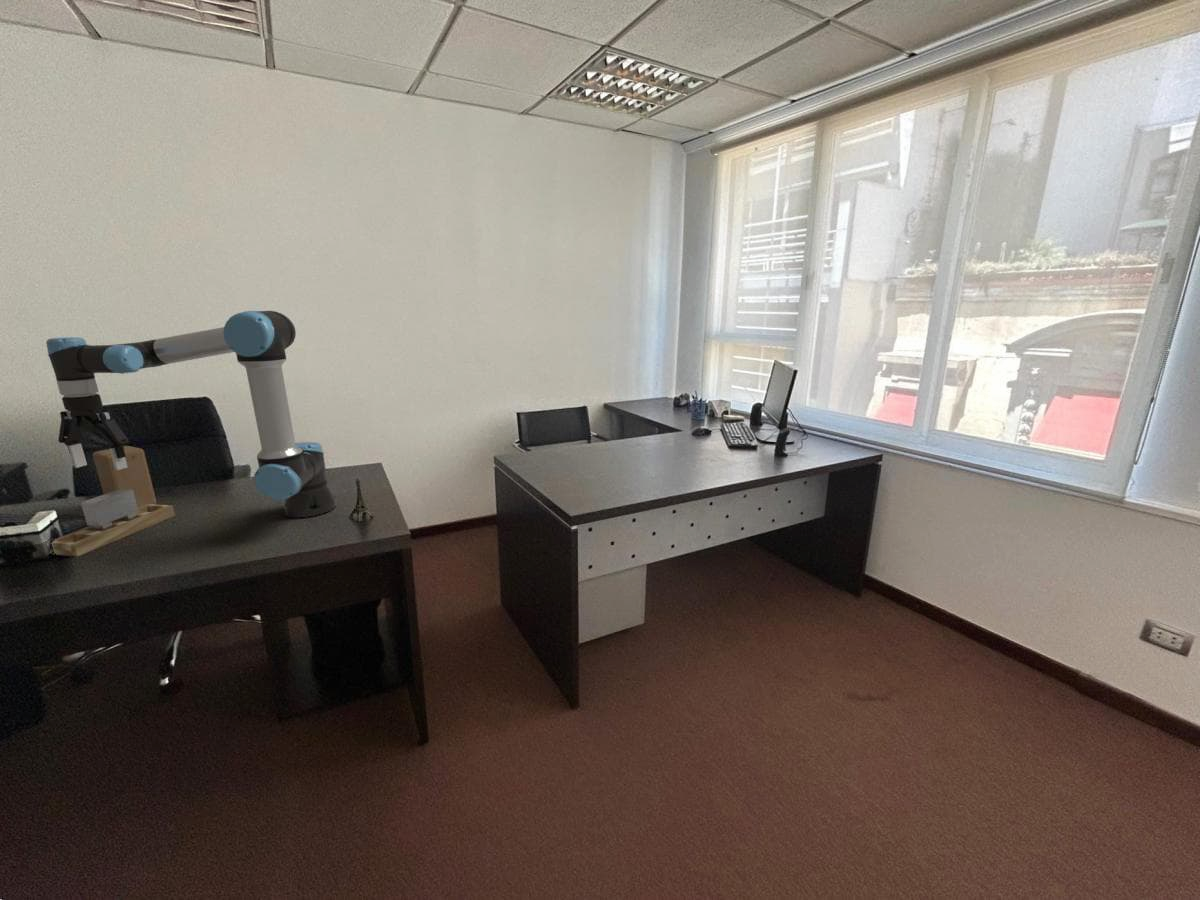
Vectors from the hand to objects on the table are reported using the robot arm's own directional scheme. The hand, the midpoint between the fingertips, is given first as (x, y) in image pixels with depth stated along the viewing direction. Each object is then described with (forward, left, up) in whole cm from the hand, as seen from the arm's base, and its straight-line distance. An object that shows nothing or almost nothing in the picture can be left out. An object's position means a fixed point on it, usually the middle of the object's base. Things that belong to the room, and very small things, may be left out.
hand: (101, 467), depth 145 cm
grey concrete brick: (0, 0, -21) cm, 21 cm away
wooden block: (+16, -18, -21) cm, 32 cm away
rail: (0, 0, -21) cm, 21 cm away
